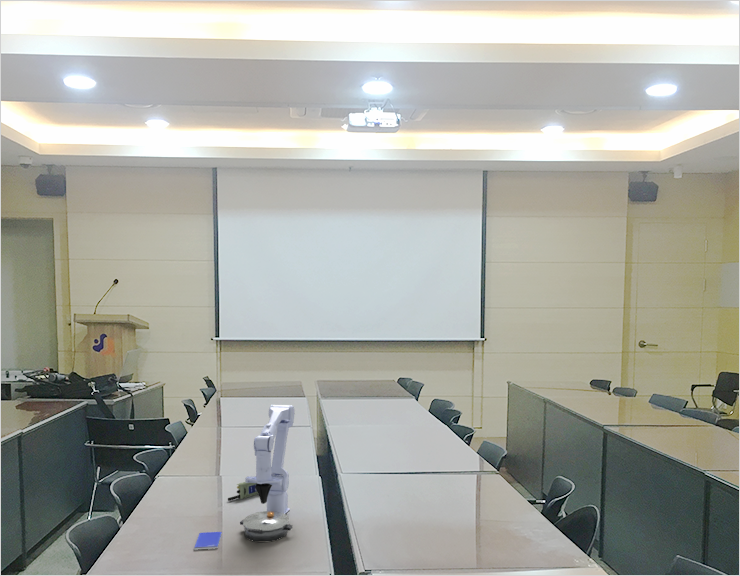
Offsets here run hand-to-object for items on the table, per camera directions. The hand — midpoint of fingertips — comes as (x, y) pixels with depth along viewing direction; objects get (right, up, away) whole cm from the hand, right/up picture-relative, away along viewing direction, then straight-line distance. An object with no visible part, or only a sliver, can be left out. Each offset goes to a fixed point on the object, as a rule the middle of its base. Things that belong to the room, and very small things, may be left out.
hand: (263, 502), depth 231 cm
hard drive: (-19, -12, -10) cm, 24 cm away
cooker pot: (+1, -11, -3) cm, 11 cm away
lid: (+1, -6, -3) cm, 7 cm away
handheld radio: (-11, -10, +37) cm, 40 cm away
